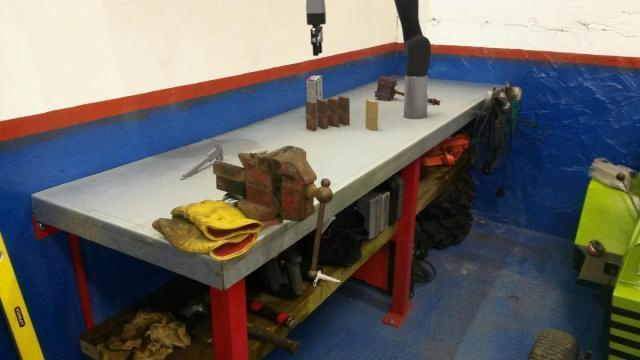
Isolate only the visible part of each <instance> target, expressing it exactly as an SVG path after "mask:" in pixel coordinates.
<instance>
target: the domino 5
mask: <svg viewBox="0 0 640 360" xmlns="http://www.w3.org/2000/svg"><path fill="white" fill-rule="evenodd" d="M378 124H379V101H377V100H373V99H366V100H365V129H368V130H370V131H378V127H379V125H378Z"/></svg>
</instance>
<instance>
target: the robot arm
mask: <svg viewBox="0 0 640 360" xmlns="http://www.w3.org/2000/svg"><path fill="white" fill-rule="evenodd" d="M325 2H326V0H306V2H305V13H306V14H305V16H306V25H307V26H311V27H312V28H310V30H309V31H310V45H311V46H312V56H314V57H318V56H319V55H320V54H322V53H323V41H324V32H323V30H324V29H323V27H324V26H323V25H325V24H326V23H327V16H326V15H327V13H326V3H325ZM419 2H420V1H419V0H394V5H395V10H396V12H397V16H398V19H399V22H400V25H401V31H402V38H403V48H404V51H405V53H406V54H407V61H406V67H405V69H404V89H403V90H404V91H403V93H404V96H403V117H404V118H407V119H414V120H415V119H423V118H427V117H428V103H429V102H428V99H429V98H428V97H429V95H428V76H429V70H430V66H431V65H430V64H431V54H432V52H431V51H432V45H431V41H430V40H429V39H428V38H427V36H425V35H424V34H423V31H422V27H421V24H420V16H419V14H420V13H419V9H420V5H419ZM326 25H327V24H326Z"/></svg>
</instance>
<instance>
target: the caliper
mask: <svg viewBox="0 0 640 360" xmlns="http://www.w3.org/2000/svg"><path fill="white" fill-rule="evenodd" d="M214 147H215V148H213V149H212V150H211V151H209V152H208V153H207V154H206V156H204V157H203V158H202V159H201V160H199V161H198V162H197V163H195V164H194V165H193V166H192V167H190V168H189V169H188V170H187V171H185V172H184V173H183V174H182V176H181V177H180V179H179V180H180V181H184V180H185V178H186V179H188V178H190V177H191V176H192V175H194V174H195V173H196V172H197V171H199V170H200V169H202V167H204V166H205V165H207V164H208V163H212V162H213V161H214V160H220V161H224V159H225V158H224V150H223V147H222V145H221V144H220V143H219V142H216V144H214Z"/></svg>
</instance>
